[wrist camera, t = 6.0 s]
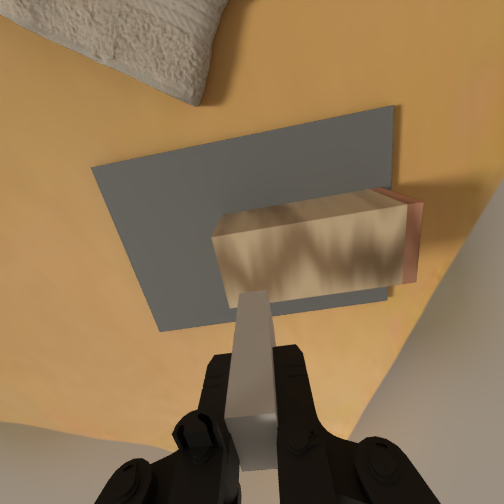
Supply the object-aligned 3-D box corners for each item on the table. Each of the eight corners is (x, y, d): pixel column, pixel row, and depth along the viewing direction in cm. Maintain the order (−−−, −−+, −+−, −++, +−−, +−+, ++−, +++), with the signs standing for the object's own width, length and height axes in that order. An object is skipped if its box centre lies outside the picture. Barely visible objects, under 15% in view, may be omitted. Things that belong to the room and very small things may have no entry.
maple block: (211, 237, 17) (423, 201, 16) (222, 214, 23) (380, 187, 21) (229, 308, 19) (416, 282, 18) (235, 272, 25) (379, 250, 24)
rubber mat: (94, 167, 22) (90, 167, 21) (390, 106, 19) (393, 104, 19) (161, 328, 29) (159, 332, 28) (384, 297, 26) (387, 300, 26)
